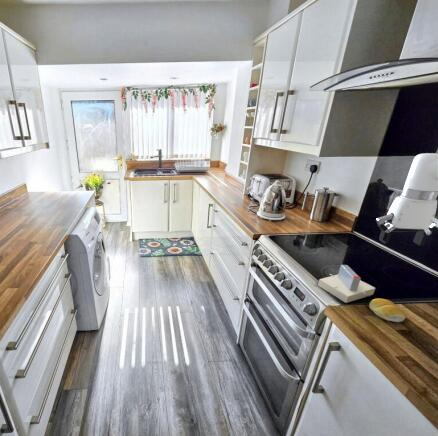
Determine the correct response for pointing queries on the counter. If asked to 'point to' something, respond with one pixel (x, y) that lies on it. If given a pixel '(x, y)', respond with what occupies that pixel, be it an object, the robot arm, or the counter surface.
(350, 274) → the grey rectangular block
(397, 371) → the counter surface
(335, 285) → the cream flat tabbed slab
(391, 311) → the bread roll
